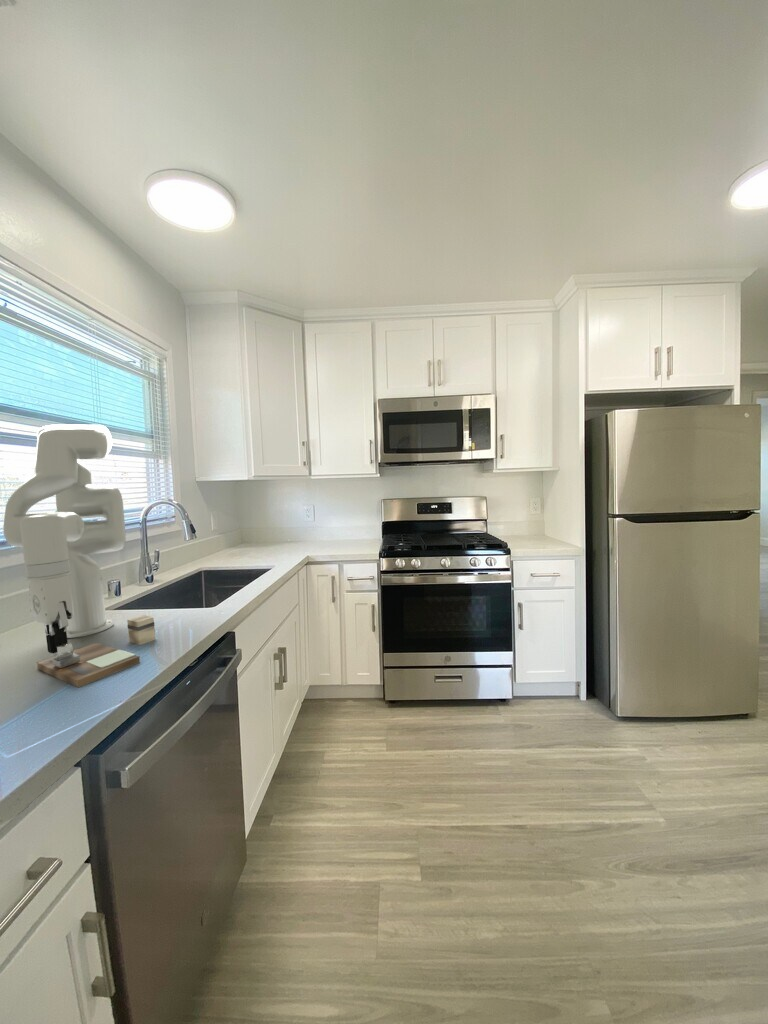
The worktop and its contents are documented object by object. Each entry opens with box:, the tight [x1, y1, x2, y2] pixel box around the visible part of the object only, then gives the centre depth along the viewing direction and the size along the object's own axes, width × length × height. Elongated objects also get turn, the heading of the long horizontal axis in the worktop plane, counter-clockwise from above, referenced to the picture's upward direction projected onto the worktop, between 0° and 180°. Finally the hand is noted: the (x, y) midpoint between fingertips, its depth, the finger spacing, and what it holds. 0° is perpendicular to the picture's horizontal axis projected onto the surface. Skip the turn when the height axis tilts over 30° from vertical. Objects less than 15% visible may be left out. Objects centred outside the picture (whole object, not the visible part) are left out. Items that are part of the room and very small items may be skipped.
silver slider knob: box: [52, 642, 80, 668], centre depth 88 cm, size 4×4×4 cm
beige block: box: [126, 614, 156, 646], centre depth 104 cm, size 5×4×6 cm
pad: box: [86, 649, 137, 668], centre depth 90 cm, size 7×7×1 cm
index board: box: [36, 642, 141, 688], centre depth 90 cm, size 20×12×2 cm, turn 59°
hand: (58, 650), depth 89 cm, fingers closed
